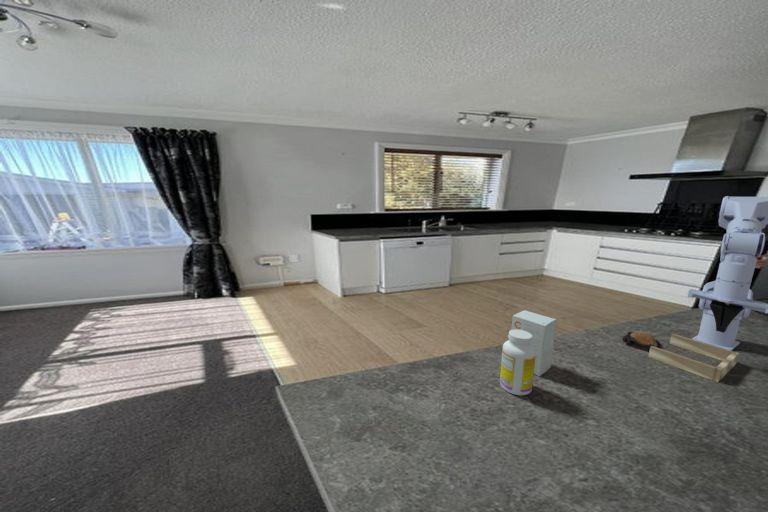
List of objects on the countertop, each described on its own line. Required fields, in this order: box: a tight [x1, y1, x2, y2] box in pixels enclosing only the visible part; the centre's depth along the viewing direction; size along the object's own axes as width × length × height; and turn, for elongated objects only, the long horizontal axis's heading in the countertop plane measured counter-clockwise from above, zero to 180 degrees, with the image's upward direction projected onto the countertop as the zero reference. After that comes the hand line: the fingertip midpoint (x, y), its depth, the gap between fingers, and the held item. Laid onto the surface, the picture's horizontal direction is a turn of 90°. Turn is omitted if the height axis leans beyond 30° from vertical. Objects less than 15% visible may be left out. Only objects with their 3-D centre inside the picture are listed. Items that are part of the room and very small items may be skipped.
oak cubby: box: [648, 333, 740, 383], centre depth 79 cm, size 16×13×3 cm
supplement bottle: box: [499, 329, 536, 396], centre depth 66 cm, size 7×7×13 cm
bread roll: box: [621, 331, 661, 353], centre depth 89 cm, size 11×8×4 cm
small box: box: [511, 309, 557, 377], centre depth 75 cm, size 8×6×13 cm
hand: (720, 330), depth 78 cm, fingers closed
